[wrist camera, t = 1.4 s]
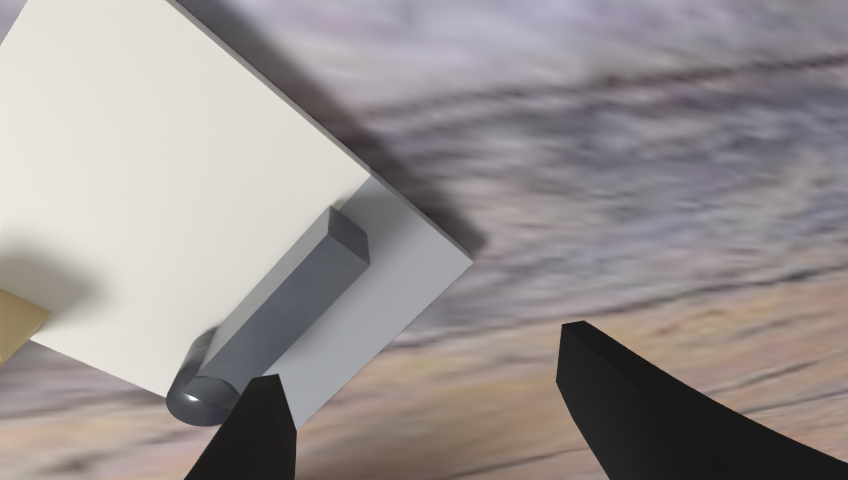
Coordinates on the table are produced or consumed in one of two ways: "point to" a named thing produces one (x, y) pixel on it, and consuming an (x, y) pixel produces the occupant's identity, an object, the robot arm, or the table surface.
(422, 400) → the table surface
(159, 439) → the table surface
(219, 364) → the swing bar
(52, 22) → the door board
